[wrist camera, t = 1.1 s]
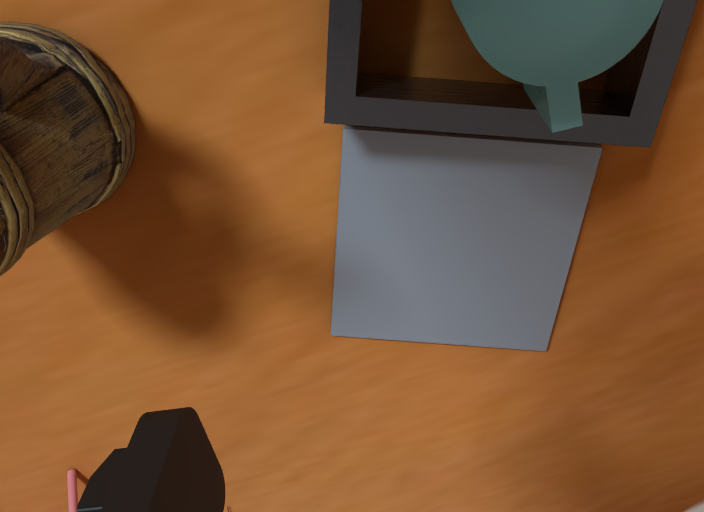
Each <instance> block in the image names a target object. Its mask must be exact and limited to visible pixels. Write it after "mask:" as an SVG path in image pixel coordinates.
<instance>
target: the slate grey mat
mask: <svg viewBox="0 0 704 512" xmlns="http://www.w3.org/2000/svg"><path fill="white" fill-rule="evenodd" d="M602 149H603V148H602V146H601V145H595V144H582V143H568V142H555V141H542V140H528V139H515V138H501V137H488V136H474V135H461V134H448V133H434V132H421V131H407V130H394V129H381V128H367V127H354V126H343V138H342V155H341V172H340V188H339V205H338V221H337V238H336V255H335V271H334V288H333V304H332V321H331V336H345V337H358V338H372V339H385V340H399V341H413V342H426V343H440V344H453V345H467V346H480V347H494V348H507V349H521V350H535V351H546V350H547V346H548V343H549V339H550V335H551V332H552V328H553V325H554V321H555V318H556V314H557V310H558V307H559V303H560V300H561V296H562V292H563V289H564V285H565V282H566V278H567V274H568V271H569V267H570V264H571V260H572V257H573V253H574V249H575V246H576V242H577V239H578V235H579V231H580V228H581V224H582V221H583V217H584V213H585V210H586V206H587V203H588V199H589V196H590V192H591V188H592V185H593V181H594V178H595V174H596V170H597V167H598V163H599V160H600V156H601V152H602Z"/></svg>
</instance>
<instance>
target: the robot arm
mask: <svg viewBox="0 0 704 512" xmlns="http://www.w3.org/2000/svg"><path fill="white" fill-rule="evenodd" d="M224 504H225V482H224V476H223V472H222V469H221V466H220V464H219V462H218V459H217V457H216V455H215V453H214V450H213V448H212V446H211V444H210V441H209V439H208V437H207V434H206V432H205V430H204V428H203V425H202V423H201V421H200V419H199V416H198V414H197V413H196V411H195V410H194V409H193V408H191V407H186V408H178V409H170V410H162V411H154V412H147V413H144V414H143V415H142V416H141V417H140V419H139V421H138V423H137V425H136V428H135V430H134V433H133V435H132V437H131V440H130V442H129V444H128V447H127V448H121V449H114V451H113V452H112V453H111V454H110V455H109V456H108V458H107V459H106V460H105V461H104V462H103V463H102V464H101V466H100V467H99V468H98V469H97V470H96V471H95V472H94V474H93V475H92V476H91V477H90V479H89V481H88V484H87V486H86V488H85V490H84V492H83V495H82V497H81V499H80V501H79V503H78V505H77V512H223V510H224Z"/></svg>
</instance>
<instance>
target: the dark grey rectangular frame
mask: <svg viewBox="0 0 704 512" xmlns="http://www.w3.org/2000/svg"><path fill="white" fill-rule="evenodd" d="M696 3H697V0H664V1H663V3H662V6H661V8H660V11H659V13H658V14H657V16H656V18H655V20H654V22H653V24H652V25H651V27H650V28H649V30H648V31H647V33H646V34H645V35H644V37H643V38H642V39H641V40H640V41H639V43H638V44H637V45H636V46H635V47H634V48H633V49H632V50H631V51H630V52H629V53H628V54H627V55H626V56H625V57H624V58H622V59H621V60H620V61H619V62H617V63H616V64H615V65H613V66H612V67H610V69H609V73H608V77H607V80H606V84H605V88H604V91H594V90H581V89H579V97H580V105H581V114H582V122H583V125H582V126H578V127H574V128H570V129H566V130H562V131H558V132H554V133H552V131H551V130H550V128H549V127H548V125H547V124H546V122H545V121H544V119H543V118H542V116H541V115H540V113H539V112H538V110H537V109H536V107H535V105H534V104H533V102H532V101H531V99H530V98H529V96H528V95H527V93H526V92H525V90H524V86H523V85H514V84H501V83H487V82H474V81H460V80H447V79H434V78H420V77H407V76H394V75H380V74H367V73H358V65H359V50H360V36H361V21H362V7H363V0H330V5H329V28H328V50H327V73H326V95H325V118H324V123H330V124H344V125H357V126H371V127H384V128H397V129H411V130H424V131H438V132H451V133H464V134H478V135H491V136H505V137H518V138H532V139H545V140H558V141H572V142H585V143H599V144H612V145H625V146H639V147H651V144H652V141H653V138H654V135H655V131H656V128H657V125H658V122H659V119H660V116H661V113H662V109H663V106H664V103H665V100H666V97H667V94H668V91H669V87H670V84H671V81H672V78H673V75H674V72H675V69H676V65H677V62H678V59H679V56H680V53H681V50H682V47H683V43H684V40H685V37H686V34H687V31H688V28H689V25H690V21H691V18H692V15H693V12H694V9H695V6H696Z"/></svg>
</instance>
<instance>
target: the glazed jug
mask: <svg viewBox="0 0 704 512" xmlns="http://www.w3.org/2000/svg"><path fill="white" fill-rule="evenodd" d="M663 1H664V0H450V2H451V4H452V6H453V8H454V9H455V11H456V13H457V15H458V17H459V19H460V21H461V23H462V24H463V26H464V28H465V30H466V32H467V34H468V36H469V38H470V39H471V41H472V43H473V44H474V46H475V48H476V50H477V51H478V52H479V53H480V55H481V56H482V57H483V58H484V59H485V60H486V61H487V62H488V63H489V64H490V65H491V66H492V67H493V68H495V69H496V70H497V71H499V72H500V73H502V74H503V75H505V76H507V77H509V78H511V79H513V80H516V81H519V82H522V83H523V86H524V90H525V92H526V93H527V95H528V96H529V98H530V99H531V101H532V102H533V104H534V105H535V107H536V109H537V110H538V112H539V113H540V115H541V116H542V118H543V119H544V121H545V122H546V124H547V125H548V127H549V128H550V130H551V131H552V133H554V132H558V131H562V130H566V129H570V128H574V127H578V126H582V125H583V122H582V114H581V105H580V97H579V88H578V82H580V81H584V80H587V79H589V78H591V77H594V76H596V75H598V74H600V73H602V72H604V71H605V70H607V69H608V68H610V67H612V66H613V65H615V64H616V63H617V62H619V61H620V60H621V59H622V58H624V57H625V56H626V55H627V54H628V53H629V52H630V51H631V50H632V49H633V48H634V47H635V46H636V45H637V44H638V43H639V41H640V40H641V39H642V38H643V37H644V35H645V34H646V33H647V31H648V30H649V28H650V27H651V25H652V24H653V22H654V20H655V18H656V16H657V14H658V13H659V11H660V8H661V6H662V3H663Z"/></svg>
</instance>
